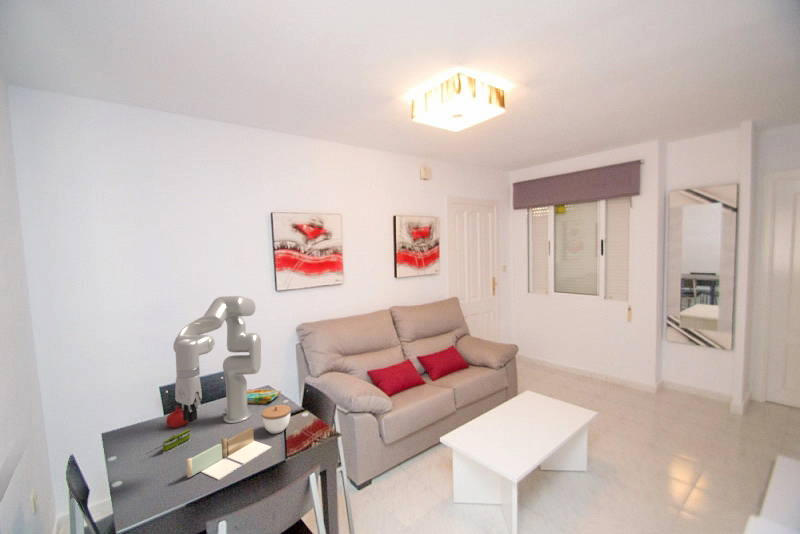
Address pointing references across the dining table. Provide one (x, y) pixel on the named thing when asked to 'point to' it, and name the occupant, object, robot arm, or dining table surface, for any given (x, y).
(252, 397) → the puzzle game
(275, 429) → the lidded bowl
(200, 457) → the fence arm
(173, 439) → the green slotted rack
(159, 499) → the dining table surface
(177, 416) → the red teapot
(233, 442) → the base
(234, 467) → the card
